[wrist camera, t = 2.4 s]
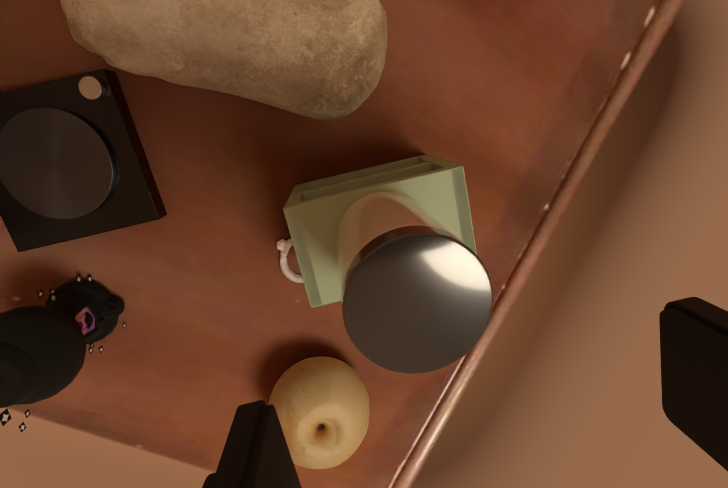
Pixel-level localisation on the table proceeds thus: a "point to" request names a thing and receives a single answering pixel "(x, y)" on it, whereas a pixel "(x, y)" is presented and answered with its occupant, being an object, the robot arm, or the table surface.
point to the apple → (321, 411)
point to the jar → (409, 285)
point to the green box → (337, 193)
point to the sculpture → (244, 47)
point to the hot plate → (72, 162)
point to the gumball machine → (52, 341)
